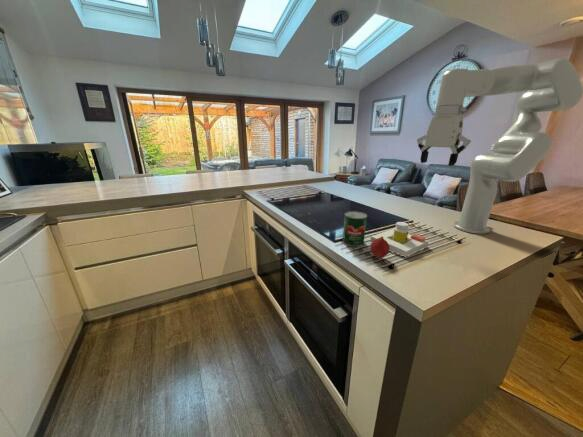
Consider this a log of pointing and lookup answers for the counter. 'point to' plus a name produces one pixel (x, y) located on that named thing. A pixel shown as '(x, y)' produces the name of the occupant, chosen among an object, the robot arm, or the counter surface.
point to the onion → (379, 247)
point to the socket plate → (407, 248)
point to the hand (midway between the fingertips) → (436, 163)
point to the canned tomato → (354, 228)
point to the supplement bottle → (400, 232)
